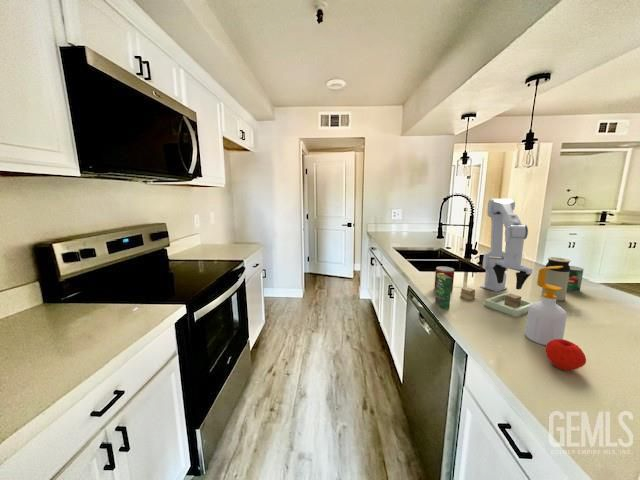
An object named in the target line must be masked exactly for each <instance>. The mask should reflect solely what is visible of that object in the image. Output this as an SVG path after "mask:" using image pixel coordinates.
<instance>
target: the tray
mask: <svg viewBox="0 0 640 480" xmlns="http://www.w3.org/2000/svg"><path fill="white" fill-rule="evenodd" d="M505 295H507V294H506V293H500V294H498V295H495V296H493V297H489V298H487V299H484V305H483V306H485V307H487V308H489V309H492V310H496V311H498V312H501V313H504V314H506V315H509V316H512V317H515V318H518V317H520V316H523V315H525V314H528V309H529V306H530V305H531V304H532V303H533V302H532V301H528V300H525V299H522V298H521V303H520V306H518V307H516V308H514V307H511V306H508V305H505V304H504V303H505Z"/></svg>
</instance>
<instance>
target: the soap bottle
mask: <svg viewBox="0 0 640 480" xmlns="http://www.w3.org/2000/svg"><path fill="white" fill-rule="evenodd" d="M562 267H563V266H550V267H546V266H545V267H542V268H540V269H539V270H538V275H537V281H536V284H537V285H538V287H540V288H545V290H546V291H547V292H546V294H543V296H542V295H541V296H542V297H541V300H539V301H534V302H532V304H531V305H530V306H529V309H528V313H527V316H526V325H525V331H524V335H525V337H526V338H527V339H529V340H531V341H532V342H534V343H537V344H539V345H542V346H545V345H547V343H548V342H550V341H552V340H555V339H563V340H564V335H565V330H566V329H565V328H566V322H567V318H568V315H567V312H566V310H565V309H564V308H563V307H561V306H560V305H559V304H557V300H556V298H557V297H556V296H555V295H553V294H554V292H556V291H559V290H562V288H561V287H558V286H554V285H549V284H546V282H545V277H546V271H547V269H559V268H562Z"/></svg>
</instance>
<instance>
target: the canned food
mask: <svg viewBox="0 0 640 480" xmlns="http://www.w3.org/2000/svg"><path fill="white" fill-rule="evenodd" d="M437 273H443V274H445V275H447V276H448V277H450V278H452V281H451V293H452V292H453V289H454V279H455V269H454V268H453V267H449V266H442V265H441V266H436V268H435V274H434V275H435V276H434V290H435V291H436V280H437Z"/></svg>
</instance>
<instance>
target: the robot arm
mask: <svg viewBox="0 0 640 480" xmlns="http://www.w3.org/2000/svg"><path fill="white" fill-rule="evenodd" d="M515 207H516V200H515V199H514V198H490V199H489V200H488V203H487V210H486V211H487V213H486V214H487V216H488V217H490V220H491V227H490V229H491V234H490V235H491V236H490V250H489V251H487V252H486V253H484V254H483V260H482V268H483V269H484V270H485V276H484V284H482V285H480V286H479V287H480V288H483V289H487V290H490V291H494V292H500V291H503V290H506V289H508V287H506V283H507V273H506V272H507V271H508V270H511V271H512V270H513V271H517V272H515V277H516V282H515V284H516V285H515V289H516V290H522V288H523V286H524V284H525V282H526V281H527V280H528V278H529V277H530V276H531V275H532V274H533V268H531V267H527V266H524V265H522V257H523V251H524V245H525V244H524V242H525V240H526V239H527V238H528V235H529V228H528V225H527V224H524V223H522V222H521V219H520V218H519V216H518V214H515V213H514V211H515ZM503 230H504V231H503ZM503 236H504V240H503ZM503 241H504V242H505V247H504V251H503Z"/></svg>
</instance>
